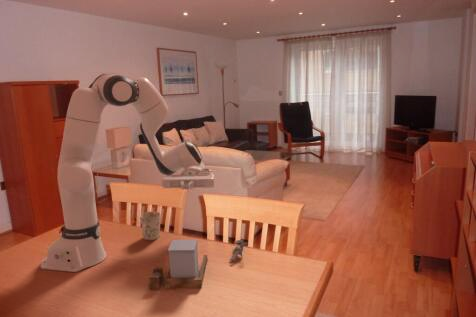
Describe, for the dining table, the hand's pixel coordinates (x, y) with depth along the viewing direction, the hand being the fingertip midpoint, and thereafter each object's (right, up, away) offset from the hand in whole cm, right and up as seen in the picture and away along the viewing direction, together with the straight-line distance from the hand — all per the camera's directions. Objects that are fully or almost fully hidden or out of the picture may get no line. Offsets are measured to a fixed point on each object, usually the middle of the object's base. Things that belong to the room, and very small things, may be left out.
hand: (185, 187), depth 131 cm
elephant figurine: (+20, -26, +1) cm, 33 cm away
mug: (-17, -23, +18) cm, 34 cm away
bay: (0, -29, -9) cm, 30 cm away
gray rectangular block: (+2, -30, -13) cm, 32 cm away
